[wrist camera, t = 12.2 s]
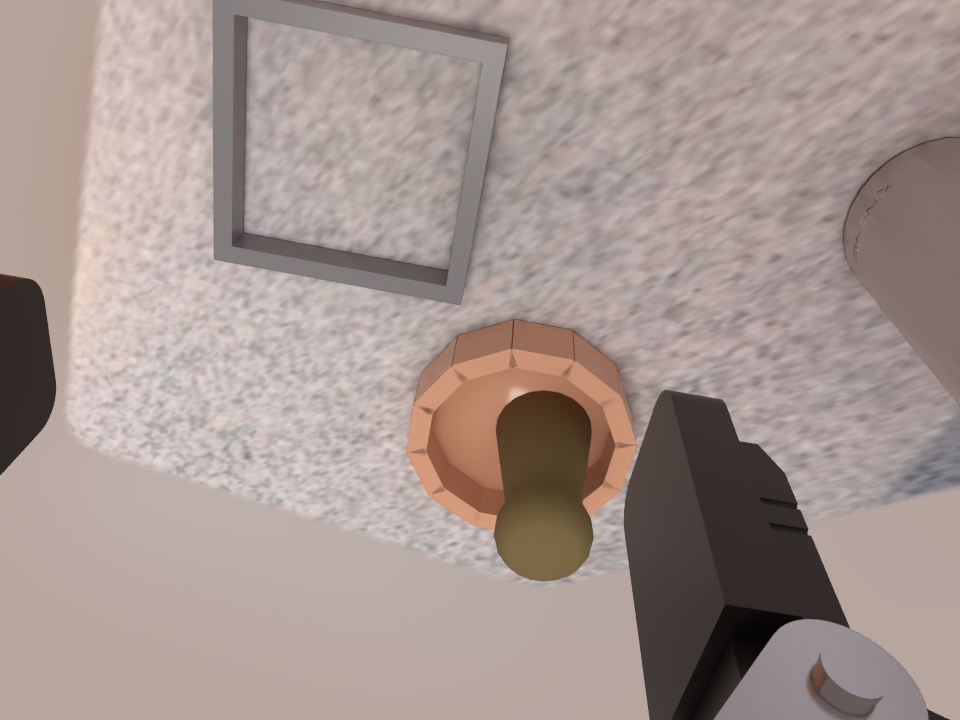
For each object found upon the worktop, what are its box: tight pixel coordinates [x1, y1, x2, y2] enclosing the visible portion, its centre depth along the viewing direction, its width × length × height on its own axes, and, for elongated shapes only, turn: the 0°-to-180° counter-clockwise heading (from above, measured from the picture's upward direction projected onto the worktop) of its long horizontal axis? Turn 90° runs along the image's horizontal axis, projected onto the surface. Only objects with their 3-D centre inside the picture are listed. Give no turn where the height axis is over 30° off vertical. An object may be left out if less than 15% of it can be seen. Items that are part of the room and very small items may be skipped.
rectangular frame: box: [213, 0, 509, 305], centre depth 42 cm, size 14×14×2 cm
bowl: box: [406, 319, 637, 530], centre depth 49 cm, size 13×13×4 cm
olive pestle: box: [494, 390, 593, 581], centre depth 45 cm, size 6×6×11 cm
